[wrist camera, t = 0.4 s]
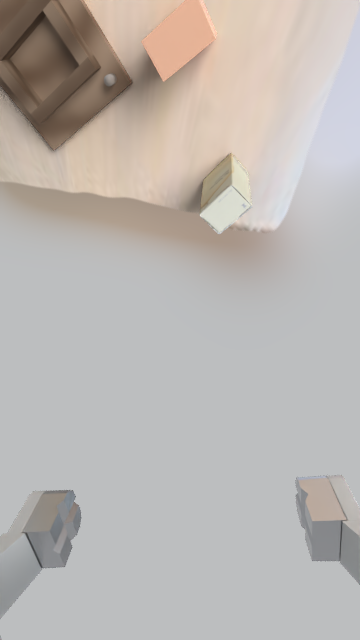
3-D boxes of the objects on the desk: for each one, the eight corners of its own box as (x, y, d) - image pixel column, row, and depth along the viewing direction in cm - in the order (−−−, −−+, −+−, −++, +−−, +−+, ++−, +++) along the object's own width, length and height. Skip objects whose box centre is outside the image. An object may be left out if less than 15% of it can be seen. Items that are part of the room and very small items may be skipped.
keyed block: (157, 35, 40) (141, 41, 33) (201, -5, 38) (195, -9, 30) (174, 69, 43) (163, 82, 35) (217, 33, 40) (215, 39, 32)
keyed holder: (-34, 36, 42) (-51, 38, 40) (42, -68, 35) (27, -75, 33) (56, 148, 51) (47, 155, 48) (132, 82, 44) (126, 86, 41)
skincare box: (231, 151, 49) (232, 181, 40) (249, 172, 51) (254, 205, 42) (201, 181, 52) (197, 214, 44) (219, 199, 54) (219, 235, 46)
